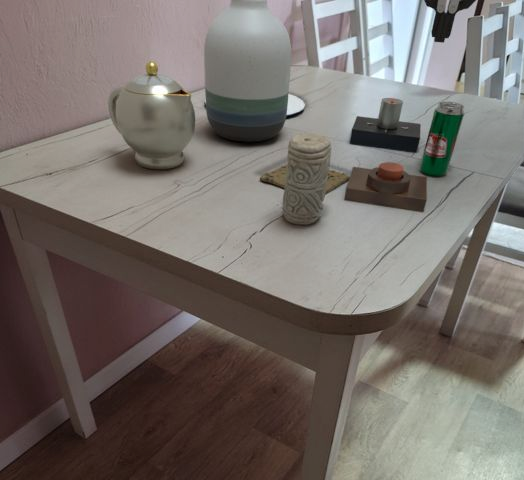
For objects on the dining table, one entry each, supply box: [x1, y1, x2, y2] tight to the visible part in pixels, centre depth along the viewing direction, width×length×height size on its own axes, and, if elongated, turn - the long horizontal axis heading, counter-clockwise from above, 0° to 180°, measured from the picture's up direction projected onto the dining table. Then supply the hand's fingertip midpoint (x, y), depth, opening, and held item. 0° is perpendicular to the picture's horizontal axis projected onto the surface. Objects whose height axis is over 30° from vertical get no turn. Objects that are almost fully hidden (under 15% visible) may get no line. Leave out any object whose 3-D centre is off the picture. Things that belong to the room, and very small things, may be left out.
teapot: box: [107, 61, 196, 171], centre depth 85 cm, size 18×14×16 cm
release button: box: [377, 161, 405, 181], centre depth 80 cm, size 4×4×2 cm
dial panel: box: [349, 115, 422, 153], centre depth 105 cm, size 14×10×3 cm
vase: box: [203, 0, 292, 143], centre depth 97 cm, size 17×17×24 cm
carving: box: [282, 134, 332, 226], centre depth 72 cm, size 6×8×12 cm
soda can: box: [419, 101, 465, 178], centre depth 89 cm, size 5×5×12 cm
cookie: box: [259, 163, 350, 195], centre depth 87 cm, size 12×12×1 cm
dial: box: [377, 97, 404, 129], centre depth 102 cm, size 4×4×5 cm
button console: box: [344, 166, 428, 213], centre depth 83 cm, size 13×10×4 cm
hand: (438, 41), depth 76 cm, fingers closed
